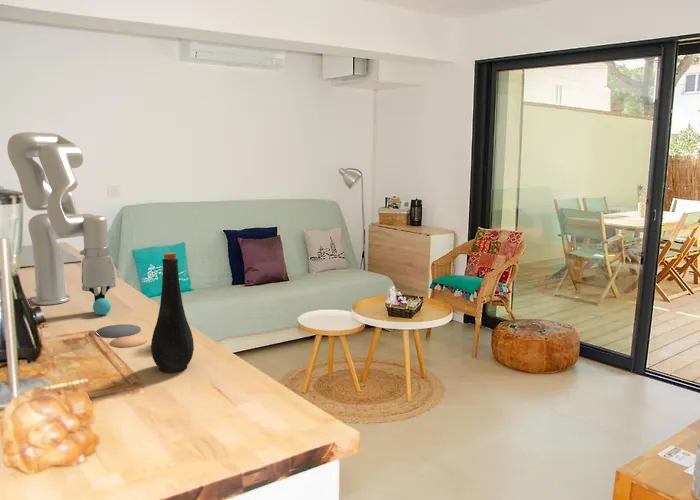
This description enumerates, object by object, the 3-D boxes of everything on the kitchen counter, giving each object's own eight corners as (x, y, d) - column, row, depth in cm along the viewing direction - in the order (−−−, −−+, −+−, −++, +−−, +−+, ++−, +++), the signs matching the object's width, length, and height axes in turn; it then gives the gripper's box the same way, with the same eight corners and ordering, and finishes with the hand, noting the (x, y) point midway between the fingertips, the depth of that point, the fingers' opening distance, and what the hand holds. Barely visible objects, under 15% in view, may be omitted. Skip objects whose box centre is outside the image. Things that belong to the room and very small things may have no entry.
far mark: (103, 342, 176) (103, 341, 176) (133, 334, 184) (133, 333, 184) (123, 349, 170) (123, 349, 170) (153, 341, 178) (153, 340, 178)
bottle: (182, 377, 151) (179, 258, 146) (143, 373, 153) (139, 255, 148) (201, 362, 161) (199, 251, 156) (164, 359, 163) (161, 248, 158)
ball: (89, 313, 203) (89, 298, 202) (104, 309, 208) (104, 294, 206) (99, 319, 200) (99, 303, 199) (114, 314, 205) (114, 299, 203)
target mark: (86, 331, 185) (86, 331, 185) (124, 322, 196) (124, 321, 195) (111, 340, 178) (111, 339, 178) (149, 330, 188) (149, 329, 188)
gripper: (75, 256, 197) (79, 311, 200) (122, 252, 205) (125, 305, 208) (70, 253, 203) (74, 306, 206) (116, 249, 212) (119, 300, 214)
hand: (100, 305), depth 207 cm, fingers closed
